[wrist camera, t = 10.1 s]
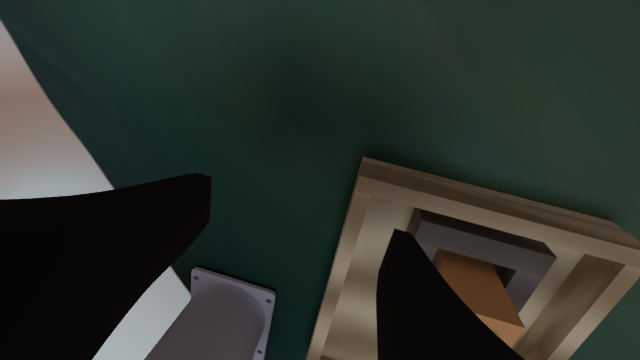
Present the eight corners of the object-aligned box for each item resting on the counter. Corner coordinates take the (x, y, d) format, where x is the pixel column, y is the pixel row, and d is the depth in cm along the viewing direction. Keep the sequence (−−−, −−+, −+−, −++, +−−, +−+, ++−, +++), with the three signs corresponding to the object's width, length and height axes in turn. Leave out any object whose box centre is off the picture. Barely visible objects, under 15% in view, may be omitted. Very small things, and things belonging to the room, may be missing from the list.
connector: (466, 290, 21) (502, 394, 15) (419, 276, 22) (435, 372, 15) (486, 253, 20) (536, 350, 13) (436, 239, 20) (461, 327, 14)
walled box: (476, 402, 27) (489, 449, 24) (308, 347, 28) (299, 384, 25) (611, 221, 18) (658, 255, 15) (362, 156, 20) (359, 175, 17)
